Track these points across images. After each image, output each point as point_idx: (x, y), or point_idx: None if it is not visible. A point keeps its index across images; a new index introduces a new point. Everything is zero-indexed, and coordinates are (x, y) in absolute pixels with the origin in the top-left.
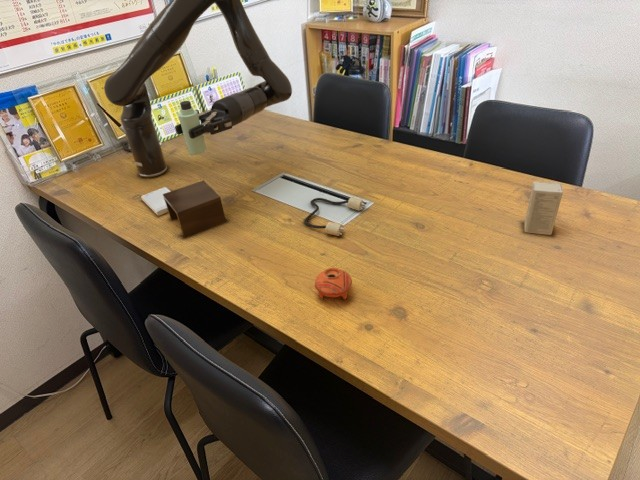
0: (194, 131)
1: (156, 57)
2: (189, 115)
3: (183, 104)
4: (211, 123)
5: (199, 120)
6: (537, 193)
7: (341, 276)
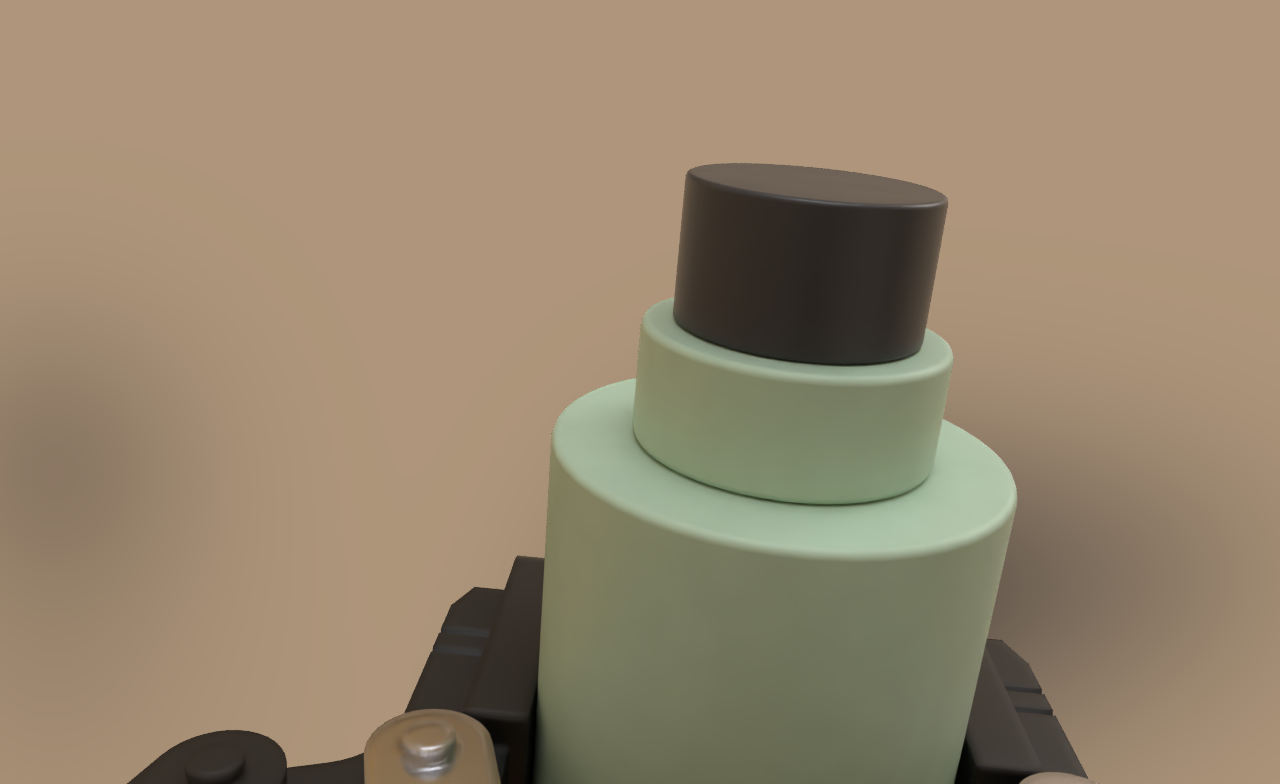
0: (463, 598)
1: None
2: (616, 396)
3: (744, 168)
4: (200, 780)
5: (614, 734)
6: None
7: None
